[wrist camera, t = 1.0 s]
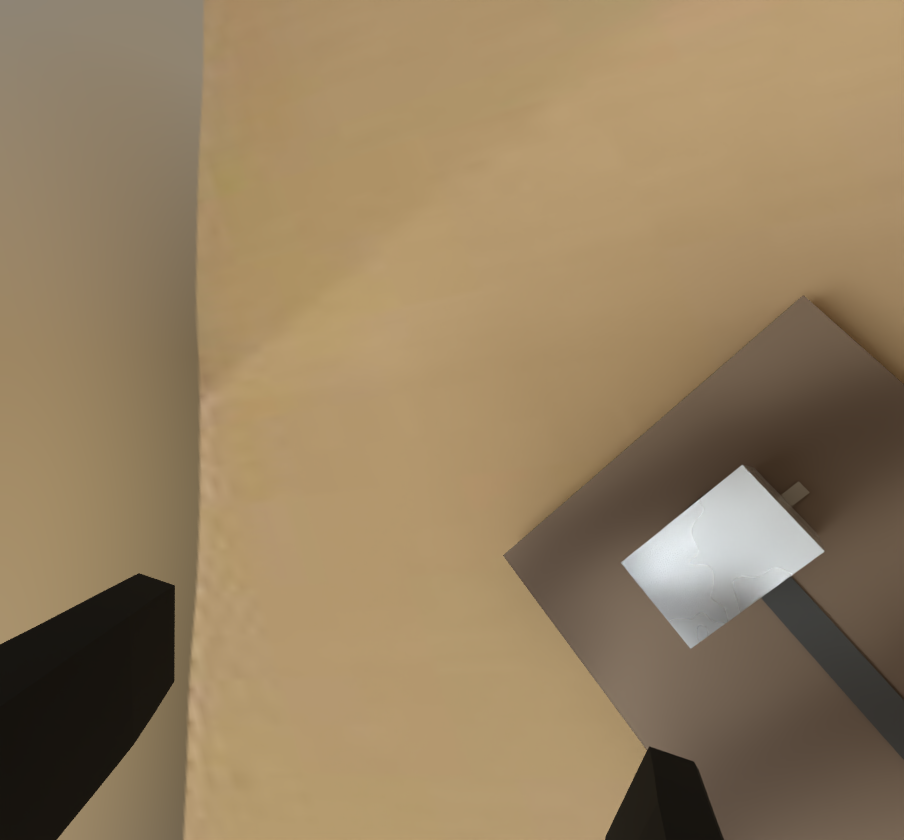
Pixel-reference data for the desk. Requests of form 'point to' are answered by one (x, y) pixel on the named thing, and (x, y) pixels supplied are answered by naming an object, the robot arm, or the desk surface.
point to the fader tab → (723, 554)
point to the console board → (776, 613)
